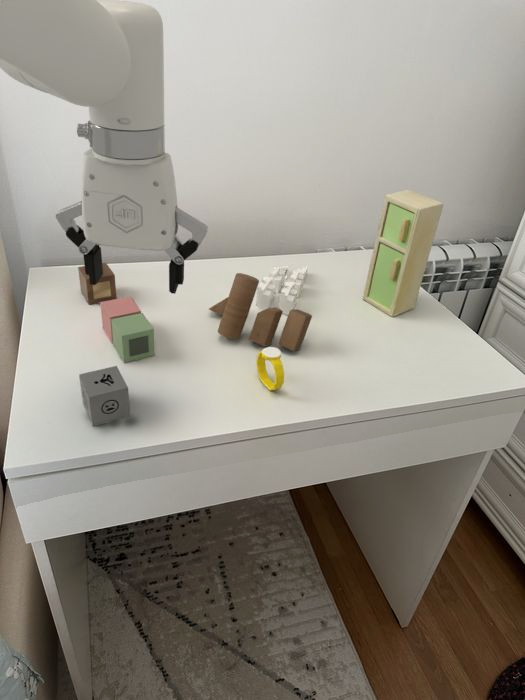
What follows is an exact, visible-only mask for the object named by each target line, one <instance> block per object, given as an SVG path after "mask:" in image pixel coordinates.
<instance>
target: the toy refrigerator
mask: <svg viewBox="0 0 525 700" xmlns="http://www.w3.org/2000/svg"><path fill="white" fill-rule="evenodd" d="M443 207H444V203H443V202H441V201H439V200H436V199H434V198H432V197H429V196H427V195H424V194H423V193H419V192H417V191H414V190H411V189H405V190H399V191H395V192H392V193H387V194H385V196H384V199H383V203H382V207H381V212H380V217H379V222H378V226H377V231H376V236H375V239H374V245H373V249H372V254H371V258H370V259H371V260H370V263H369V268H368V272H367V277H366V280H365V281H366V282H365V285H364V291H363V295H362V300H364V301H365V302H367V303H368V304H370V305H372V306H373V307H375V308H377V309H378V310H380V311H382V312H383V313H385V314H386V315H388V316H390V317H396V316H399V315H401V314H404V313H406V312H408V311H410V310H411V311H412V310H413V309H414V308H415V307H416V303H417V299H418V296H419V293H420V288H421V285H422V282H423V280H424V279H423V278H424V275H425V272H426V268H427V265H428V261H429V257H430V253H431V250H432V248H433V243H434V241H435V240H434V239H435V237H436V232H437V231H438V230H437V229H438V225H439V222H440V219H441V216H442V213H443Z"/></svg>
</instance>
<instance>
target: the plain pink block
mask: <svg viewBox="0 0 525 700" xmlns="http://www.w3.org/2000/svg"><path fill="white" fill-rule="evenodd" d="M99 304H100V314H101V324H102V330H103V331H104V332H105V334H106V336H107V337H108V339H109V341H110V343H111V345H113V334H112V323H111V319H115V318H120V317H124V316H129V315H134V314H139V313H142V310H141V308H139V306H138V305H137V303H136V302H135V300H134V299H133V298H132V296H124V297H119V298H117V299H114V300H109V301H104V302H100V303H99Z"/></svg>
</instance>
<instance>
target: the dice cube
mask: <svg viewBox="0 0 525 700" xmlns="http://www.w3.org/2000/svg"><path fill="white" fill-rule="evenodd" d="M78 377H79V385H80V393H81V400H82V404H83V407H84V409H85V411H86V414H87V416H88V419H89V421H90V424H91V426H92V427H96V426H99V425H103V424H107V423H110V422H114V421H117V420H121V419H124V418H129V417H131V409H130V407H131V406H130V394H129V387H128V385H127V383H126V381H125V379H124V377H123V375H122V373H121V371H120V369H119V367H118V366H117V365H113V366H110V367H105V368H101V369H97V370H92V371H88V372H83V373H80V374H79V373H78Z"/></svg>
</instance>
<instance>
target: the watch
mask: <svg viewBox="0 0 525 700" xmlns="http://www.w3.org/2000/svg"><path fill="white" fill-rule="evenodd" d="M281 357H282V351H281V350H280V349H279V348H278V347H274V346H267V347H264V348H263V349H262V350H260V351H259V353H258V354H257V356H256V371H257V375H258V377H259V380H260V381H261V382H262V383H263V385H264V386H265V387H266V388H267V389H268V391H270V392H271V391H275V390H278V389H281V388H283V386H284V382H285V371H284V365H283V362H282V360H281ZM266 361H268V362H270V363H271V365H272V366H273V372H274V377H275V378H274V381H272V379H271V378H270V377H269V374H268V371H267V367H266Z"/></svg>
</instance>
